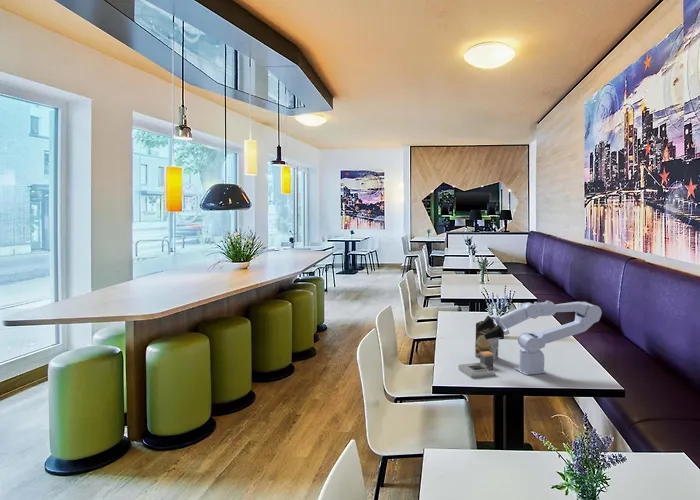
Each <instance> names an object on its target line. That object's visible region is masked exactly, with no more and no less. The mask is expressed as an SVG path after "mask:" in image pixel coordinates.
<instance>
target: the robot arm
mask: <svg viewBox="0 0 700 500" xmlns="http://www.w3.org/2000/svg"><path fill="white" fill-rule="evenodd" d="M569 312H572V313H573V312H575V315H574V320H573V321H571V322H568V323H564V324H562V325H561V324H560V325H557V326H555V327H551V328H548V329H546V330H543V331H538V332H537V331H535V332H534V331H533V332H532V331H531V332H522V333H520V334H519V335H518V337H517V343H518V344H519V367H515V368H514V370H516V371H518V372H520V373H522V374H523V375H526V376H529V375H537V374H538V375H539V374H545V373H546V371H545V355H544V352H543V351H542V350H541V349H543V348H545V347H546V345H547V344H551V343H553V342H556V341H559V340H562V339H565V338H569V337H572V336H574V335H579V334H581V333H585V332H586V331H587V330H589V328H591V327H592V326H593V324H595V323H598V322H599V321H600V319H601V317H602V314H603V312H602V309H601V307H600V306H598V305H595V304H593V303H589V302H587V301H572V302H565V303H563V302H562V303H558V304H557V303H556V304H555V303H554V302H553V301H550V300H545V301H544V302H543V301H542V302H538V301H534V302H533V303H532V302H524V303H522V304H521V306H520V307H517V308H516V309H513V310H511V311H509V312H507V313H505V314H503V315H500V316H499V315H496V316H495V315H494V314H492V315H487V316H486V317H485V319H484V320H482V321H483V322H482V323H481V324H480V325H478V326H477V329H478V331H482V330H485V329H488V328H494V329H493V330H491V331H489V332H488V333H486V334H485V335H484V336H485V339H492V338H499V339H503V338H505V336H507V335H510V330H509V329H510V328H512V327H514V326H516V325H518V324H520V323H523V322H524V321H527V320H529V319H537V318H540V317H550V316H551V317H552V316H555V314H556V313H569ZM494 324H495V325H496V327H495V326H494Z"/></svg>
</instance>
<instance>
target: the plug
mask: <svg viewBox="0 0 700 500" xmlns="http://www.w3.org/2000/svg"><path fill="white" fill-rule="evenodd" d="M479 363H483V364H485V365H487V366H488V367H490V368H494V360H493V353H491V352H489V351H484V352H480V357H479Z"/></svg>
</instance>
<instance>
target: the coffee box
mask: <svg viewBox="0 0 700 500" xmlns="http://www.w3.org/2000/svg"><path fill="white" fill-rule="evenodd" d="M483 321H484V320H480V321H478V322H476V323H475V346H474V347H475V349H474V350H475V351H474V356H475V357H477V358H480V352H484V351H489V352H491V353H493V361H495V360H496V359H497V358H499V345H500V344H499V339H500V338H492V339H485V336H484V335H485V334H486V333H488V332H489V331H491V330H493V329H494V328H488V329H485V330H482V331H478V329H477V326H478V325H480V324H481V323H482V322H483ZM494 326H495V327H496V325H495V324H494Z"/></svg>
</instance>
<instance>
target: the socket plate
mask: <svg viewBox="0 0 700 500" xmlns="http://www.w3.org/2000/svg"><path fill="white" fill-rule="evenodd" d="M458 370H459V371H460V372H461V373H463V374H465V375H467V376H468V377H469V378H471V379H473V378H481V377H482V378H483V377H491V376H496V369H493V367H488V366H487V365H485V364H483V363H480V362H474V363H473V362H472V363H465V364H458Z"/></svg>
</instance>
